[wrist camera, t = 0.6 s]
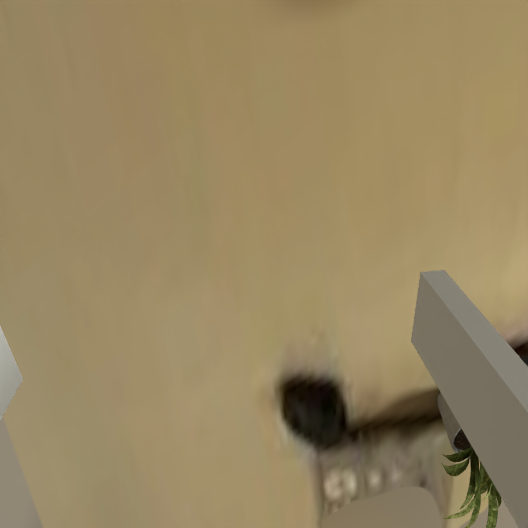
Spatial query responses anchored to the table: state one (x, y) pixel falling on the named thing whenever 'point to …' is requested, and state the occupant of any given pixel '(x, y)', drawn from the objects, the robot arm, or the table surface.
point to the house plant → (462, 452)
